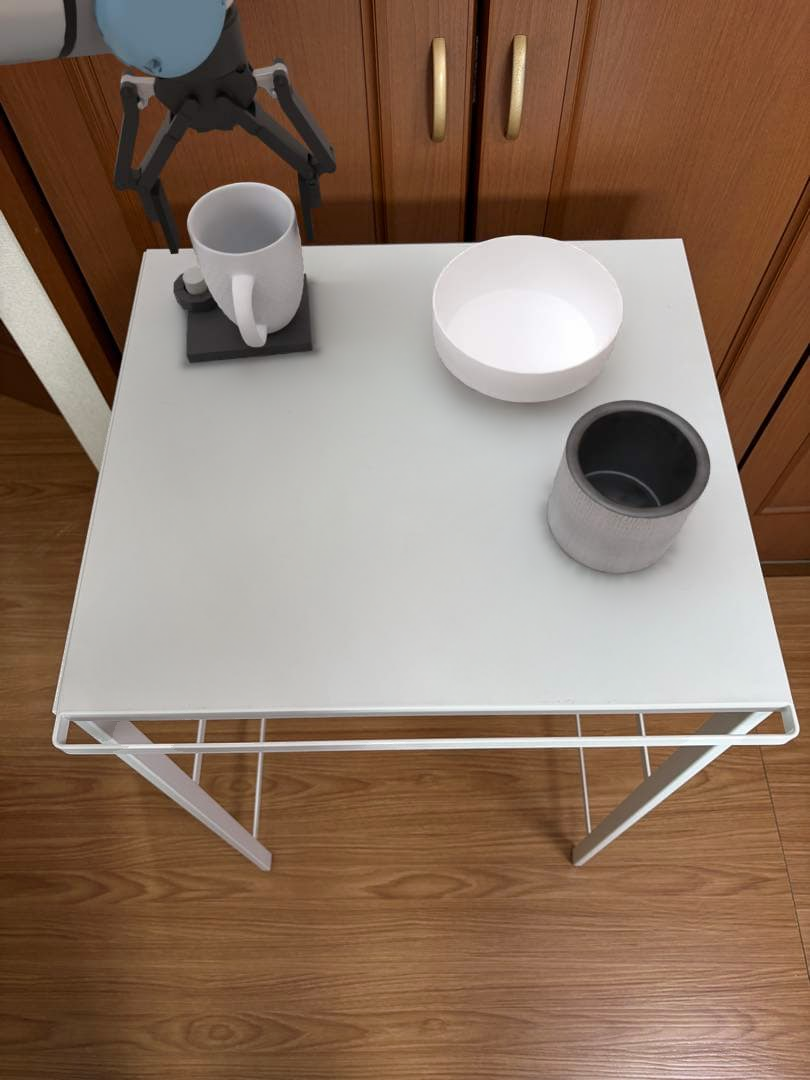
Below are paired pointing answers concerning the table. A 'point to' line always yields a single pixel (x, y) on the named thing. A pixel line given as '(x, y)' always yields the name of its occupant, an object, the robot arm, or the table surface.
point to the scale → (236, 329)
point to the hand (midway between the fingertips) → (243, 239)
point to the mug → (249, 256)
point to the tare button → (195, 281)
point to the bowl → (525, 317)
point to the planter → (626, 485)
